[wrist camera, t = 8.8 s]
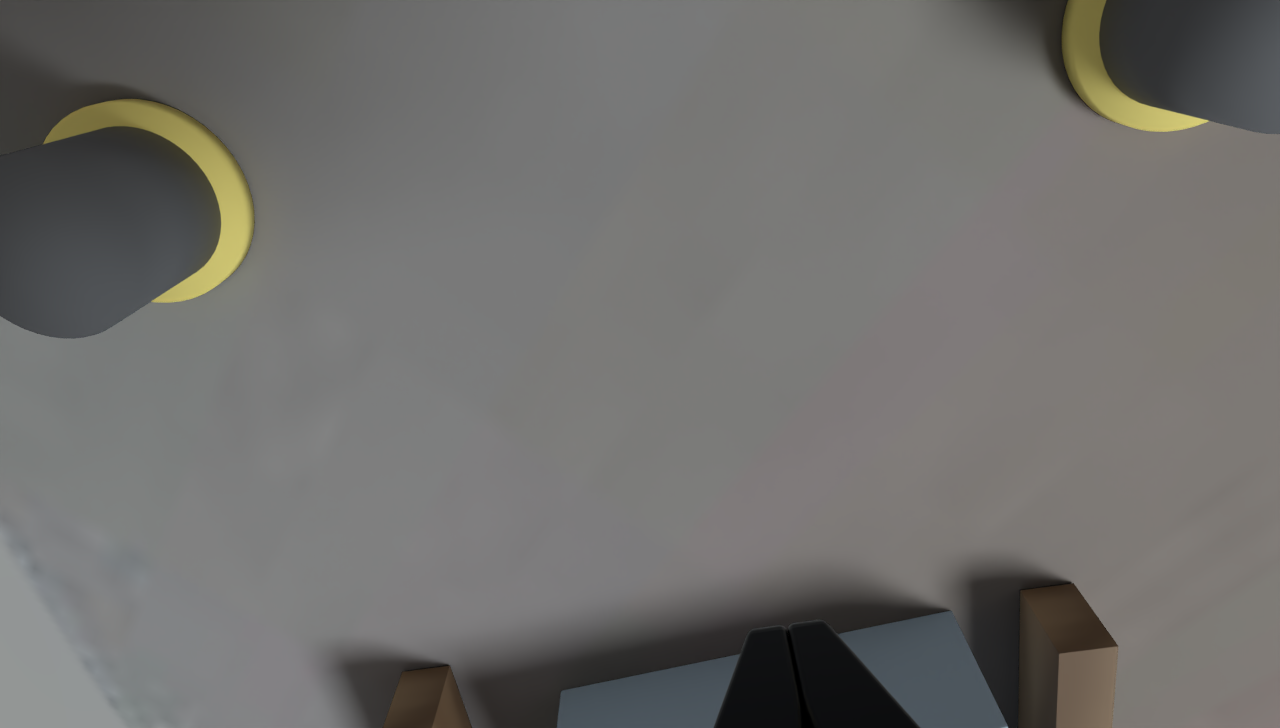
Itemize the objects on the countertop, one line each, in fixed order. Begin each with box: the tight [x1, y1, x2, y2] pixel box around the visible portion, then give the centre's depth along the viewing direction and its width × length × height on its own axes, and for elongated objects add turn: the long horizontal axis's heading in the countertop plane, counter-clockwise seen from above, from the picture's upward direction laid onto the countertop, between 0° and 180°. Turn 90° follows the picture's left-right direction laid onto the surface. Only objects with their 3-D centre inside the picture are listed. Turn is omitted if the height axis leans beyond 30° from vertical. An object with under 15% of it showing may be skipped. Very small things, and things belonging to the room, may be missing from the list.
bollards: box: [0, 0, 1280, 338], centre depth 17 cm, size 28×5×4 cm, turn 100°
